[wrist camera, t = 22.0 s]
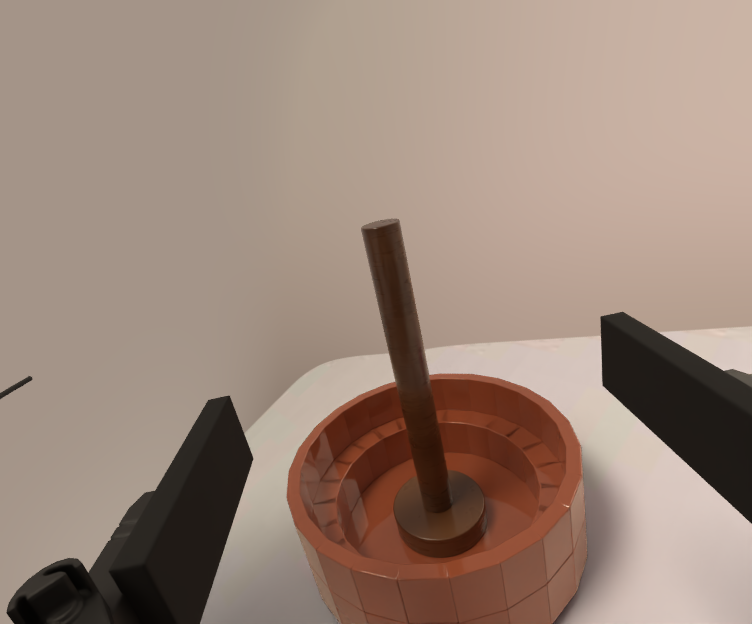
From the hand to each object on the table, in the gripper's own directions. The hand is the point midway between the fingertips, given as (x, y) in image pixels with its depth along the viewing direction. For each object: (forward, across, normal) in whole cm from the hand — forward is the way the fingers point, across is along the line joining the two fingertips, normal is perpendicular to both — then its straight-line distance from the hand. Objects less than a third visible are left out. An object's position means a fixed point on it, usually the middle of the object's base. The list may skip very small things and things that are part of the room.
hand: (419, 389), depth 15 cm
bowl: (+9, 0, -16) cm, 18 cm away
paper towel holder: (+9, 0, -16) cm, 18 cm away
